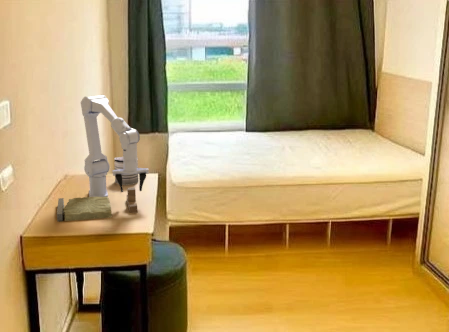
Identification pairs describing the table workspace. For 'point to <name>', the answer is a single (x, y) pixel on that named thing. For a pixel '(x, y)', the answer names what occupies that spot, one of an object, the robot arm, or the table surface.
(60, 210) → the stop rail
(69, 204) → the decorative tile
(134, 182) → the can
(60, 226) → the table surface
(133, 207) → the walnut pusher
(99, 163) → the robot arm
